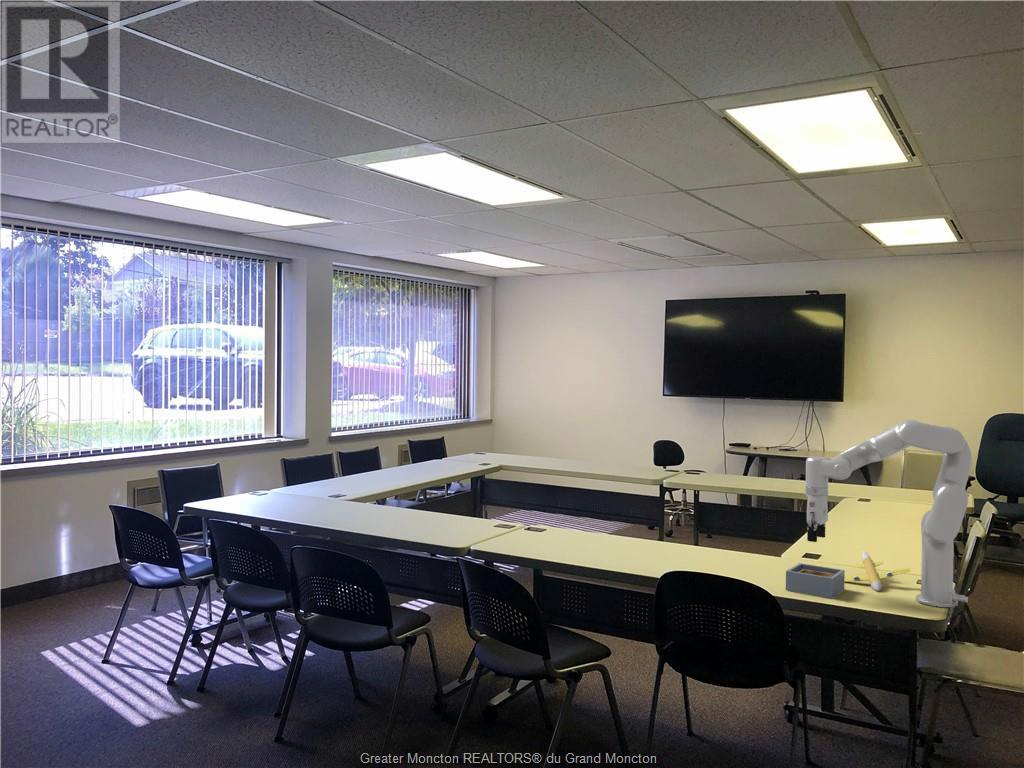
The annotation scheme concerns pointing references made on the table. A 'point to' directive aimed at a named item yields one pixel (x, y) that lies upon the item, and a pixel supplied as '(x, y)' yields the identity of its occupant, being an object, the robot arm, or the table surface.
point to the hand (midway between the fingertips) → (816, 539)
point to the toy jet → (873, 572)
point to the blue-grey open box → (815, 581)
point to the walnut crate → (816, 573)
